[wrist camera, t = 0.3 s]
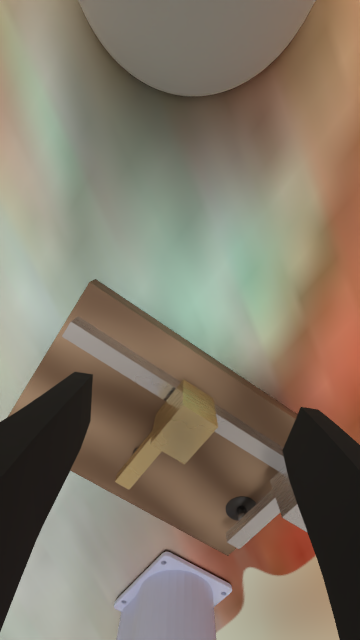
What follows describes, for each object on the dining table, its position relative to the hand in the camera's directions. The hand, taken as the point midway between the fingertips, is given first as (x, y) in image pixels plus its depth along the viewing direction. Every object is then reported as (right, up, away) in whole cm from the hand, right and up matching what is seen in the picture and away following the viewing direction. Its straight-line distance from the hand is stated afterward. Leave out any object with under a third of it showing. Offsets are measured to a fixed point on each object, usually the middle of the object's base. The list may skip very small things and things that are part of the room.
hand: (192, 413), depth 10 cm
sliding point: (-2, -4, +11) cm, 12 cm away
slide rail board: (-1, -6, +13) cm, 14 cm away
